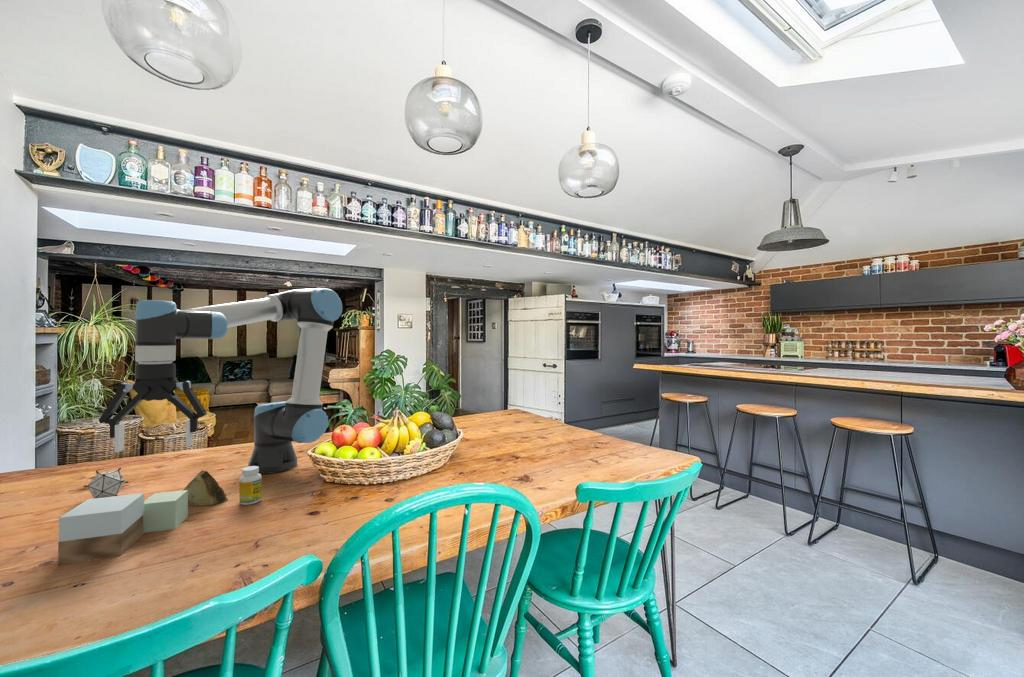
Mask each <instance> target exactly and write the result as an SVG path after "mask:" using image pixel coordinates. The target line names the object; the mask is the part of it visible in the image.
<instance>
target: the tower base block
mask: <svg viewBox="0 0 1024 677" xmlns="http://www.w3.org/2000/svg"><path fill="white" fill-rule="evenodd" d="M143 535H144V533H143V515H142V516H141V517H140V518H139V519H138V520H137V521H135V522H134V523H133V524H132V525H131V526H130V527H129V528H127V529H126V530H125V531H124V532H123V533H121V534H114V535H107V536H99V537H92V538H84V539H77V540H70V541H62V542H59V541H58V543H57V548H58V550H57V551H58V552H57V555H58V556H57V559H58V560H57V562H58V563H57V566H61V565H62V566H63V565H68V564H69V565H70V564H75V562H77V563H82V561H83V562H88V560H90V561H94V560H95V559H96V560H102V559H108V558H114V557H121V556H123V555H124V554H125V552H127V550H128V549H130V547H132V546H133V544H135V543H136V542H137V541H138V540H139V539H140V538H141V537H142V536H143ZM96 560H95V561H96Z"/></svg>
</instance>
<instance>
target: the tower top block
mask: <svg viewBox="0 0 1024 677" xmlns="http://www.w3.org/2000/svg"><path fill="white" fill-rule="evenodd" d="M144 501H145V493H144V492H142V493H133V494H124V495H123V494H122V495H118V496H110V497H104V498H94V497H93V498H87V500H84V501H83V502H82V503H80V504H79V505H76V507H74V508H72V509H71V510H69V511H68V512H66V513H64V514H63V515H61V516H60V517H58V542H62V541H70V540H77V539H84V538H92V537H99V536H107V535H114V534H121V533H123V532H124V531H125V530H126V529H127V528H129V527H130V526H131V525H132V524H133V523H134V522H135V521H137V520H138V519H139V518H140V517H141V516H142V515H144Z"/></svg>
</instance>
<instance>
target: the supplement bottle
mask: <svg viewBox="0 0 1024 677" xmlns="http://www.w3.org/2000/svg"><path fill="white" fill-rule="evenodd" d="M258 472H259V467H258V466H249V467H248V466H246V467H243V468H242V469H241V474H242V475H241V476H240V477H239V479H238V480H239V481H238V484H239V487H238V488H239V494H238V495H239V497H238V498H239V501H238V502H239V504H240V505H242V506H249V505H254V504H256V503H259V502H261V500H262V491H263V490H262V488H263V487H262V485H263V484H262V482H263V481H262V480H263V478H262V474H259V473H258Z"/></svg>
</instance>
